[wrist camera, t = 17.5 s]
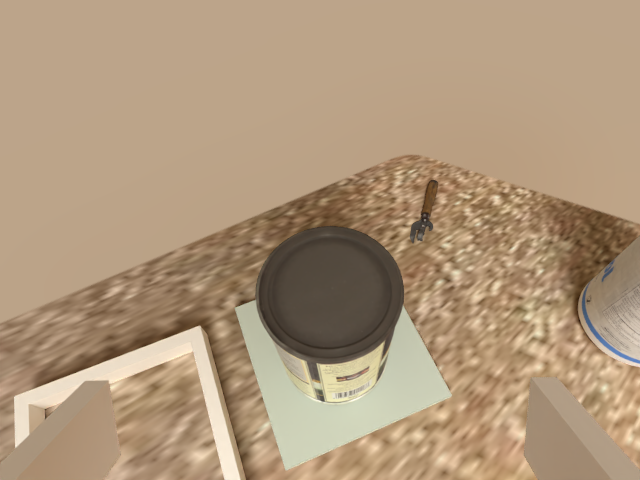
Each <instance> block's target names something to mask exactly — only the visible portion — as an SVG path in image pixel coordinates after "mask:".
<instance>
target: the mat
mask: <svg viewBox="0 0 640 480" xmlns="http://www.w3.org/2000/svg"><path fill="white" fill-rule="evenodd" d="M235 311H236V314H237V317H238V320H239V323H240V327H241V330H242V333H243V336H244V339H245V342H246V346H247V349H248V352H249V355H250V358H251V362H252V365H253V368H254V371H255V374H256V377H257V381H258V384H259V387H260V390H261V393H262V397H263V400H264V403H265V406H266V409H267V412H268V416H269V419H270V422H271V425H272V428H273V432H274V435H275V438H276V441H277V444H278V447H279V451H280V454H281V457H282V460H283V463H284V467H285V470H289V469H291V468H293V467H295V466H298V465H300V464H302V463H304V462H307V461H309V460H311V459H313V458H316V457H318V456H320V455H322V454H325V453H327V452H329V451H331V450H333V449H336V448H338V447H340V446H342V445H345V444H347V443H349V442H351V441H354V440H356V439H358V438H360V437H363V436H365V435H367V434H369V433H372V432H374V431H376V430H378V429H380V428H383V427H385V426H387V425H389V424H392V423H394V422H396V421H398V420H401V419H403V418H405V417H407V416H410V415H412V414H414V413H416V412H418V411H421V410H423V409H425V408H427V407H430V406H432V405H434V404H436V403H439V402H441V401H443V400H445V399H448V398H450V397H451V396H452V394H451V393H450V391H449V389H448V387H447V385H446V383H445V382H444V380H443V378H442V376H441V374H440V372H439V370H438V369H437V367H436V365H435V363H434V361H433V359H432V358H431V356H430V354H429V352H428V350H427V348H426V346H425V345H424V343H423V341H422V339H421V337H420V335H419V334H418V332H417V330H416V328H415V326H414V324H413V322H412V321H411V319H410V317H409V315H408V313H407V311H406V310H405V308H404V306H403V307H402V312H401V314H400V317H399V320H398V322H397V324H396V326H395V330H394V334H393V337H392V341H391V345H390V349H389V354H388V360H387V365H386V368H385V371H384V374H383V376H382V378H381V380H380V381H379V383H378V384H377V385H376V387H375V388H374V389H373V390H372V391H370V392H369V393H368V394H367V395H365V396H364V397H362V398H360V399H359V400H356V401H354V402H351V403H348V404H343V405H327V404H322V403H319V402H316V401H313V400H311V399H309V398H308V397H306V396H305V395H303V394H302V393H301V392H299V391H298V390H297V389H296V387H295V386H294V385H293V384H292V382H291V381H290V379H289V378H288V376H287V374H286V371H285V368H284V365H283V362H282V360H281V358H280V356H279V354H278V352H277V349H276V347H275V345H274V343H273V341H272V339H271V337H270V336H269V334H268V333H267V331H266V329H265V328H264V326H263V324H262V322H261V320H260V318H259V314H258V311H257V306H256V300H254V301H251V302H248V303H246V304H243V305H241V306H238V307H235Z"/></svg>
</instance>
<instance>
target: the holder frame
mask: <svg viewBox="0 0 640 480" xmlns="http://www.w3.org/2000/svg"><path fill="white" fill-rule="evenodd" d="M190 352H194V356H195V361H196V365H197V369H198V373H199V377H200V381H201V385H202V389H203V393H204V397H205V401H206V406H207V410H208V414H209V418H210V422H211V426H212V430H213V434H214V438H215V442H216V446H217V451H218V455H219V459H220V463H221V467H222V471H223V475H224V479H225V480H246V477H245V473H244V470H243V466H242V462H241V458H240V455H239V451H238V447H237V444H236V440H235V436H234V432H233V429H232V425H231V421H230V417H229V414H228V410H227V406H226V402H225V399H224V395H223V391H222V388H221V384H220V380H219V376H218V373H217V369H216V365H215V361H214V358H213V354H212V350H211V347H210V343H209V339H208V335H207V333H206V332H205V331H204V330H203V328H202V327H201V326H197V327H194V328H192V329H189V330H187V331H184V332H181V333H179V334H176V335H174V336H171V337H168V338H166V339H163V340H160V341H158V342H155V343H153V344H150V345H147V346H145V347H142V348H140V349H137V350H134V351H132V352H129V353H126V354H124V355H121V356H119V357H116V358H113V359H111V360H108V361H105V362H103V363H100V364H98V365H95V366H92V367H90V368H87V369H85V370H82V371H79V372H77V373H74V374H71V375H69V376H66V377H64V378H61V379H58V380H56V381H53V382H50V383H48V384H45V385H43V386H40V387H37V388H35V389H32V390H30V391H27V392H24V393H22V394H19V395H16V396H14V407H15V448H16V447H17V446H18V445H19V444H20V443H21V442H22V441H23V440H24V439H25V438H27V437H28V436H29V435H30V434H31V433H32V432H33V431H34V430H35V429H36V428H37V427H38V426H39V425H40V424H41V423H42V422H43V421H44V420H45V409H47V408H49V407H52V406H54V405H57V404H60V403H62V402H64V401H65V400H66V399H67V398H68V397H69V396H70V395H71V394H72V393H73V392H74V391H75V390H76V389H77V388H78V387H79V386H80V385H81V384H82V383H83V382H84V381H99V380H109V384H111V383H113V382H116V381H118V380H121V379H124V378H126V377H129V376H131V375H134V374H136V373H139V372H142V371H144V370H147V369H149V368H152V367H154V366H157V365H159V364H162V363H165V362H167V361H170V360H172V359H175V358H177V357H180V356H183V355H185V354H188V353H190Z"/></svg>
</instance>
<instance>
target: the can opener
mask: <svg viewBox="0 0 640 480" xmlns="http://www.w3.org/2000/svg"><path fill="white" fill-rule="evenodd" d="M437 187H438V182H437V181H435V180H431V181H430V182H429V185H428V188H427V192H426V196H425V203H424V207H423V210H422V214H421V215H422V219H421V220H420V221H418V222H415V223H413V225H412V227H411V233H410V239H411V241H412V243H413V242H414V238H415V234H416V230H420V231H419V233H418V238H417V239H418V240H419V241H422V237H423V235H424V231H425V227H426V226H429V227H430V230H429V231H431V230H432V229H433V224H432V223H431V222H429V221H428V220H429V217H430V216H431V211H432V206H433V203H434V200H435V197H436V193H437Z"/></svg>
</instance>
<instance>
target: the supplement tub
mask: <svg viewBox="0 0 640 480" xmlns="http://www.w3.org/2000/svg"><path fill="white" fill-rule="evenodd" d="M578 314H579V318H580V322H581V324H582V326H583V328H584V330H585V332H586V334H587V335H588V337H589V338H590V339H591V340H592V342H593V343H594V344H595V345H596V346H597V347H598V348H599V349H601V350H602V351H603V352H604V353H606V354H607V355H609V356H610V357H612V358H614V359H616V360H618V361H620V362H622V363H625V364H628V365H632V366H637V367H640V236H639V237H637V238H636V239H635V240H634V241H633V242H632V243H631V244H630V245H629V246H628V247H627V248H626V249H625V250H623V251H622V252H621V253H620V254H619V255H618V256H617V257H616V258H615V259H614V260H613V261H612V262H610V263H609V264H608V265H607V266H606V267H605V268H604V269H603V270H602V271H601V272H600V273H598V274H597V275H596V276H595V277H594V278H593V279H592V280H591V281H590V282H589V283H588V284H587V285H586V286H585V288H584V289H583V291H582V293H581V295H580V298H579V303H578Z"/></svg>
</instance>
